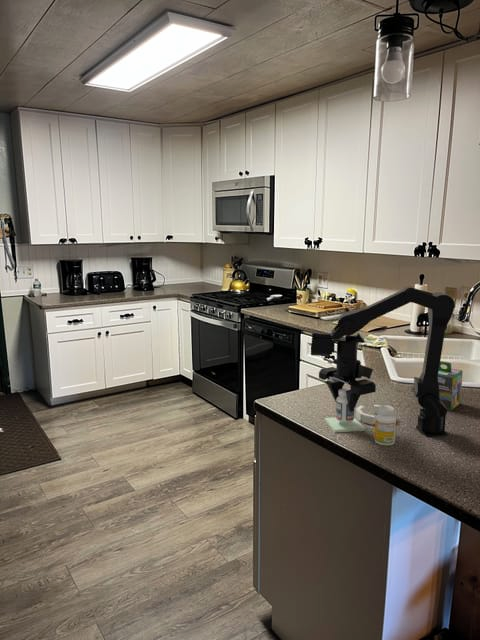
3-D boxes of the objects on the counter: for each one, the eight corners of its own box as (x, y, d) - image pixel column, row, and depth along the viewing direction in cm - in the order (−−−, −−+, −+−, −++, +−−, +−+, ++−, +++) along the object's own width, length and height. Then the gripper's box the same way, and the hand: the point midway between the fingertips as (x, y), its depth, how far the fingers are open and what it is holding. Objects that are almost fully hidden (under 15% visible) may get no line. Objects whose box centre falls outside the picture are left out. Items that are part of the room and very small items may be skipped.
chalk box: (461, 404, 158) (464, 360, 155) (451, 411, 151) (454, 366, 149) (433, 397, 164) (436, 355, 161) (422, 404, 158) (425, 361, 155)
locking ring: (383, 411, 152) (383, 404, 151) (397, 423, 142) (398, 415, 142) (351, 413, 150) (352, 405, 150) (364, 425, 141) (364, 417, 140)
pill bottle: (354, 417, 142) (356, 388, 140) (353, 423, 137) (354, 394, 136) (337, 415, 144) (337, 386, 142) (334, 421, 139) (335, 392, 137)
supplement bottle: (379, 435, 134) (380, 402, 132) (398, 441, 130) (400, 407, 128) (370, 442, 130) (372, 408, 128) (390, 447, 126) (392, 413, 124)
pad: (353, 418, 146) (353, 416, 146) (364, 430, 137) (364, 427, 137) (324, 420, 145) (324, 417, 144) (334, 432, 136) (334, 429, 136)
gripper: (391, 360, 133) (389, 413, 136) (347, 346, 149) (345, 394, 152) (361, 365, 128) (359, 421, 130) (318, 351, 144) (317, 400, 147)
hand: (345, 408), depth 140 cm, fingers closed on pill bottle, 5 cm apart
